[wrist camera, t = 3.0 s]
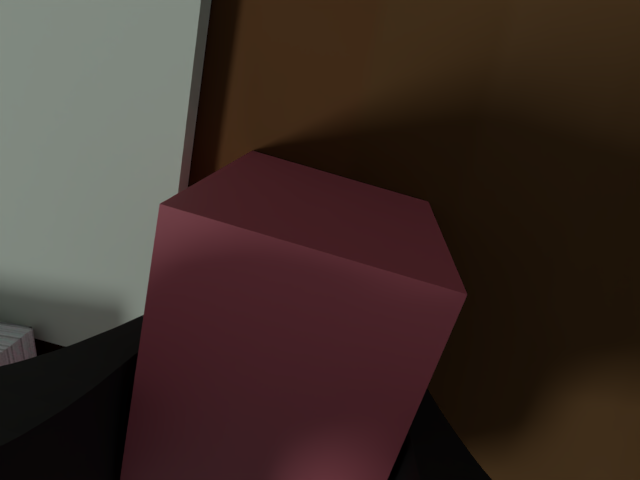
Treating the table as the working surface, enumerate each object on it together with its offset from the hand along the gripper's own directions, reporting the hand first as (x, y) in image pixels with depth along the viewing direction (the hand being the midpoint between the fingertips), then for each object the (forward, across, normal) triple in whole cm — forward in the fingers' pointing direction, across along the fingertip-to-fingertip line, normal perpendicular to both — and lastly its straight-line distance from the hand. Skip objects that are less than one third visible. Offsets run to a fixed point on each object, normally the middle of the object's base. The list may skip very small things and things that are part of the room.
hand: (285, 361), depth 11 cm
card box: (+1, 0, 0) cm, 1 cm away
